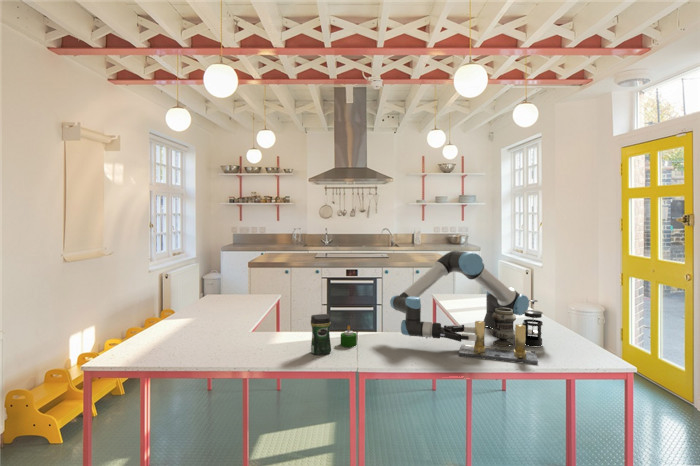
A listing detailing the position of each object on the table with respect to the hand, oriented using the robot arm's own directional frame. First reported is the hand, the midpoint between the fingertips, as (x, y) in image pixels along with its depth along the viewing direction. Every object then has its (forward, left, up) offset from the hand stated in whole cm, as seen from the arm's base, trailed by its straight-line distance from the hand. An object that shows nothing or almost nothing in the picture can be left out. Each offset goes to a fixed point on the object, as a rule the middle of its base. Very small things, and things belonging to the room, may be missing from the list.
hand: (477, 334), depth 199 cm
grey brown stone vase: (-3, +24, -10) cm, 26 cm away
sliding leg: (+2, 0, -8) cm, 8 cm away
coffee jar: (-42, -62, -10) cm, 76 cm away
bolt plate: (+7, +6, -9) cm, 13 cm away
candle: (-45, -44, -10) cm, 64 cm away
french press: (+6, +35, -10) cm, 37 cm away
